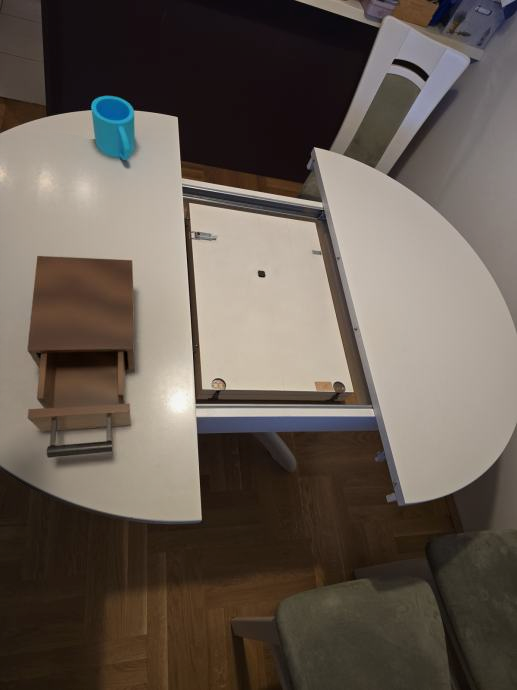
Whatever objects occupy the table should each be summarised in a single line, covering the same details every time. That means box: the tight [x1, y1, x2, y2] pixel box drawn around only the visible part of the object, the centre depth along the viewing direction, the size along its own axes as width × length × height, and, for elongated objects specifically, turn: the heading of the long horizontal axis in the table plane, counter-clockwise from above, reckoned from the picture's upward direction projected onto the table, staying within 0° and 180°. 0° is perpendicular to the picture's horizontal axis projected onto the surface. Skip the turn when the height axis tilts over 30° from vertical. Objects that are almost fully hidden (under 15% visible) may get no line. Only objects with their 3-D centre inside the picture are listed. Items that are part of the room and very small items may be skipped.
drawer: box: [27, 351, 132, 459], centre depth 58 cm, size 20×13×8 cm, turn 8°
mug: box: [90, 95, 136, 161], centre depth 82 cm, size 12×8×8 cm
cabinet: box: [27, 255, 135, 373], centre depth 62 cm, size 16×14×10 cm
